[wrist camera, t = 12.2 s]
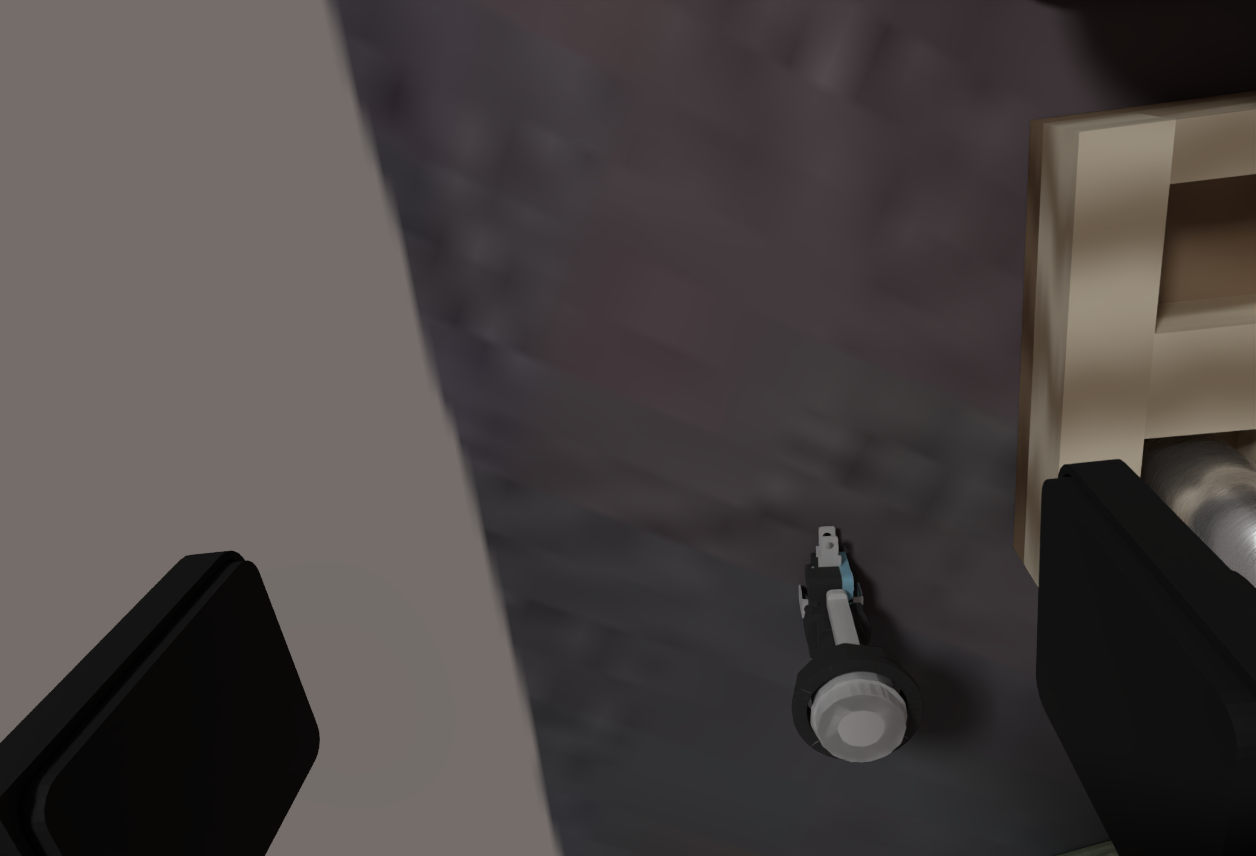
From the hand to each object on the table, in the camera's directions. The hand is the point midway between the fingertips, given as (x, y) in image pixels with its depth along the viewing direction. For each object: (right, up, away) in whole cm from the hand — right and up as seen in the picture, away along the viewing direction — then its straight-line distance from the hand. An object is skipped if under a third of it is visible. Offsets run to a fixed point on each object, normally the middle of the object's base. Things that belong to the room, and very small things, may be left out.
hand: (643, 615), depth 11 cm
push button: (+10, -5, +35) cm, 36 cm away
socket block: (+23, +6, +28) cm, 37 cm away
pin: (+24, +1, +29) cm, 37 cm away
